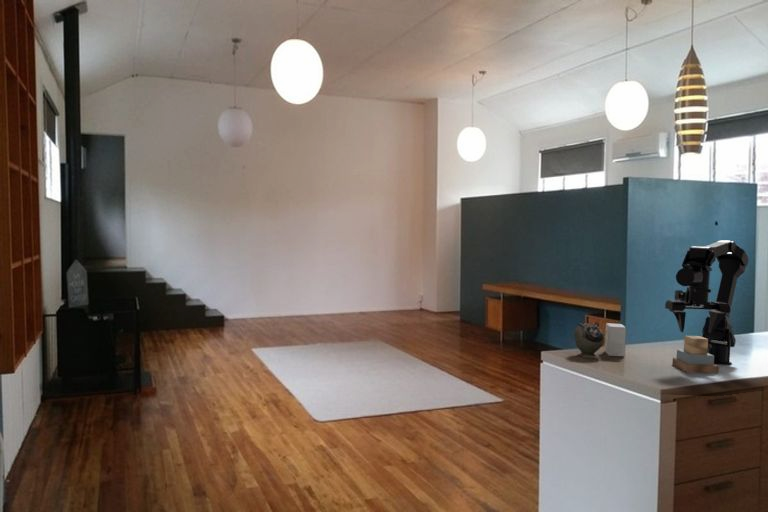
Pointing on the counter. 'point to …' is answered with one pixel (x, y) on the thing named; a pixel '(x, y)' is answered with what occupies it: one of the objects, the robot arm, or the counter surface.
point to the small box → (615, 339)
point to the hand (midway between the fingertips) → (696, 332)
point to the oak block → (695, 344)
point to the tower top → (695, 358)
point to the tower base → (695, 367)
